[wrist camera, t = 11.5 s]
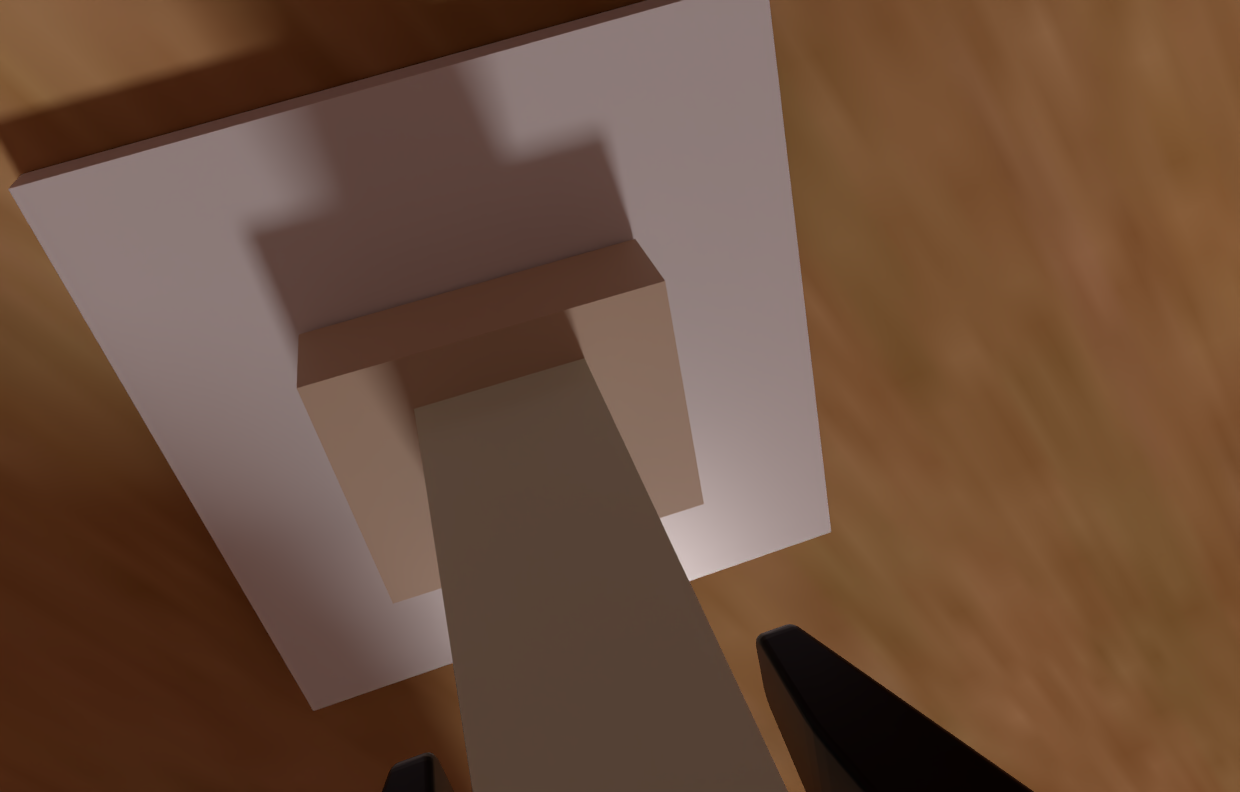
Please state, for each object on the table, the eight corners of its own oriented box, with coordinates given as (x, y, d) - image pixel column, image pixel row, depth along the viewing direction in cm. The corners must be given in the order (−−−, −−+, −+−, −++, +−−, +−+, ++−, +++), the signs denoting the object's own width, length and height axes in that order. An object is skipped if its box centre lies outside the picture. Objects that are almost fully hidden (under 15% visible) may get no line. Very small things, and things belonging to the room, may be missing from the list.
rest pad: (818, 513, 19) (831, 531, 18) (313, 686, 18) (313, 710, 17) (750, -28, 13) (766, -24, 13) (20, 174, 12) (8, 189, 12)
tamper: (675, 451, 16) (1066, 1173, 8) (387, 541, 16) (466, 1426, 7) (635, 239, 14) (1119, 922, 6) (298, 334, 14) (261, 1260, 5)
